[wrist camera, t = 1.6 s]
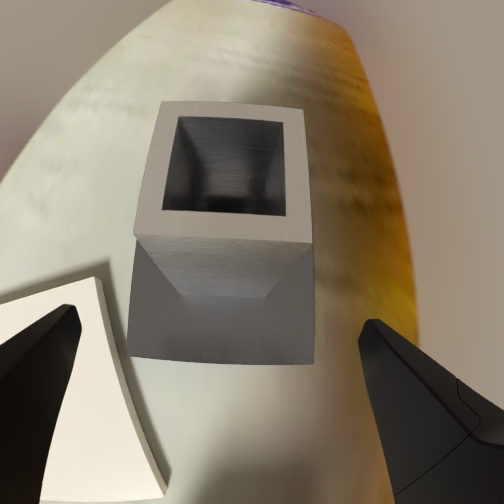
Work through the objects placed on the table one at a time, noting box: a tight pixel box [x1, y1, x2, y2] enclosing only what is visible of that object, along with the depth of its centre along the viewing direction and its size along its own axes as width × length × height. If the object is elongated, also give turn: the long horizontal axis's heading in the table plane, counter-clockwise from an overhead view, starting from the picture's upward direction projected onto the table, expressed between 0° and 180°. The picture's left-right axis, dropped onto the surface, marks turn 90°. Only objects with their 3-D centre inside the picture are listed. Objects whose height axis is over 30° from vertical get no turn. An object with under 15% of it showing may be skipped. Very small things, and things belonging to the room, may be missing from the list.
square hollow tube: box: [133, 101, 312, 298], centre depth 15 cm, size 5×5×11 cm
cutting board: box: [0, 277, 168, 502], centre depth 16 cm, size 16×14×2 cm
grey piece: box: [126, 171, 314, 365], centre depth 19 cm, size 14×12×6 cm
